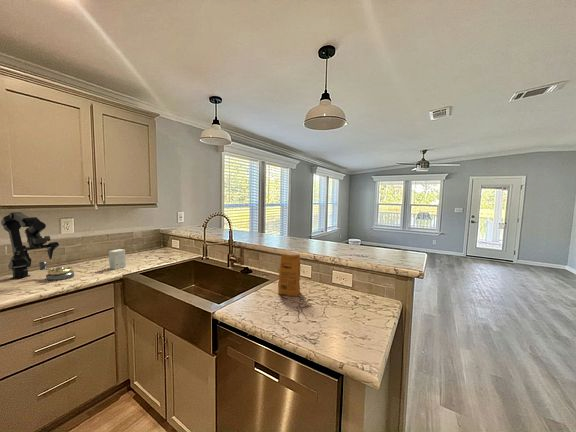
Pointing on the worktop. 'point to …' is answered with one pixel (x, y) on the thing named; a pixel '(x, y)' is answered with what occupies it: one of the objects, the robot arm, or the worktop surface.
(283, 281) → the coffee package
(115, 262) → the small box
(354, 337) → the worktop surface
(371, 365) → the worktop surface
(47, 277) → the housing
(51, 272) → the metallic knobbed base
